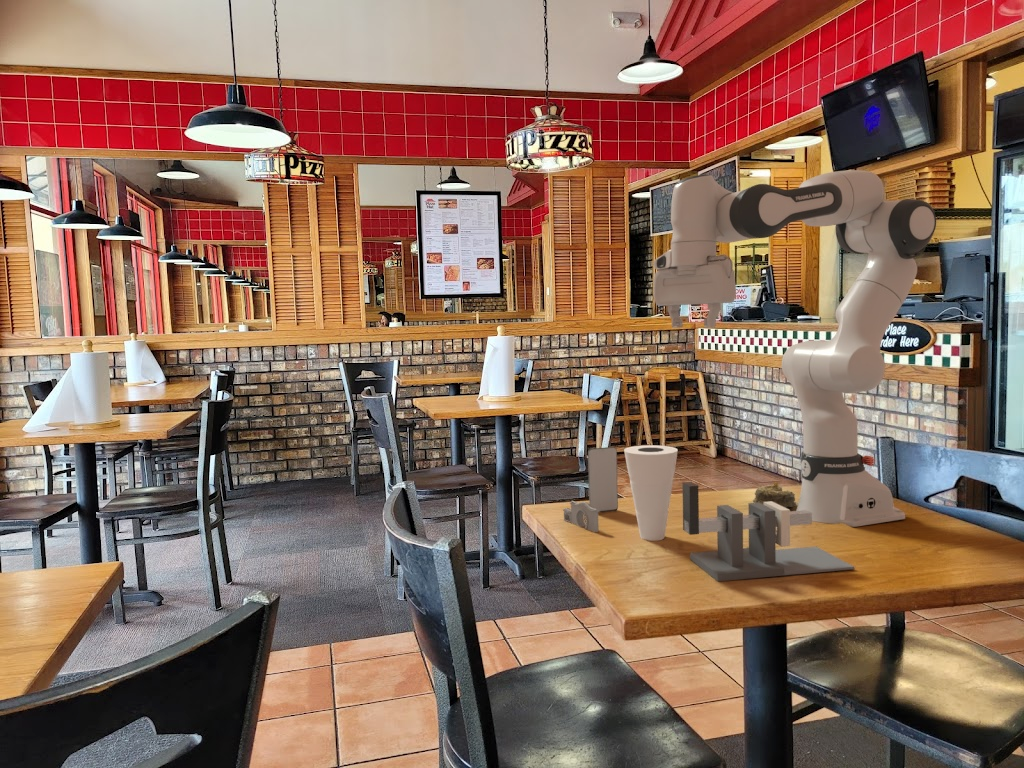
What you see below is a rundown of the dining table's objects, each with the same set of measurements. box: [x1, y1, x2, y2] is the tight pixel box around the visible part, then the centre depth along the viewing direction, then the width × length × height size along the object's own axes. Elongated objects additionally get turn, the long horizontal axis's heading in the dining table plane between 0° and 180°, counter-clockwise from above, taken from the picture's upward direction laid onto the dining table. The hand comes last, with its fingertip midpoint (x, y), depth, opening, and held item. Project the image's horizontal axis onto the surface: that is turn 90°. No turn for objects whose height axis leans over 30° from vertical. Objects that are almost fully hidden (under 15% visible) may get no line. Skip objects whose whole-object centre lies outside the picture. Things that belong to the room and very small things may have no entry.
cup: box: [623, 444, 678, 542], centre depth 152 cm, size 11×11×18 cm
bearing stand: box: [689, 502, 785, 582], centre depth 132 cm, size 12×12×10 cm
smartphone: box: [587, 446, 619, 513], centre depth 173 cm, size 7×1×15 cm, turn 106°
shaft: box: [682, 481, 813, 536], centre depth 132 cm, size 23×3×8 cm, turn 99°
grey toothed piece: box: [562, 500, 601, 533], centre depth 161 cm, size 12×2×6 cm, turn 29°
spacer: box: [764, 501, 791, 548], centre depth 133 cm, size 2×6×6 cm, turn 9°
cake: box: [752, 481, 798, 508], centre depth 175 cm, size 10×10×5 cm
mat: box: [776, 546, 855, 576], centre depth 135 cm, size 13×12×1 cm
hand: (693, 327), depth 151 cm, fingers open, 8 cm apart
